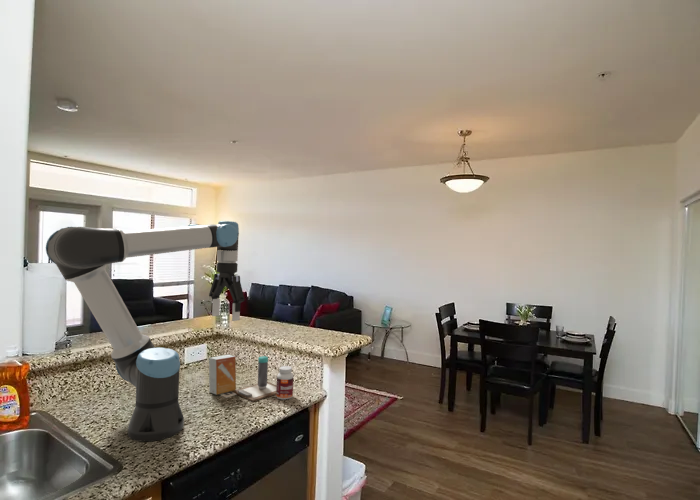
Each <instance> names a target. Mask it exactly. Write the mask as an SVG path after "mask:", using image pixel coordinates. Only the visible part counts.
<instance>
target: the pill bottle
mask: <svg viewBox="0 0 700 500" xmlns="http://www.w3.org/2000/svg"><path fill="white" fill-rule="evenodd" d="M278 370H279V371H278V374H277V375H276V385H277V388H276V394H275V397H276V398H277V399H278V400H282V401H283V400H284V401H286V399H287V400H290V399H292V398H293V395H294V374H293V372H292V371H293V368H292V366H288V365H282V366H280V367H279V369H278Z"/></svg>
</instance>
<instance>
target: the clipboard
mask: <svg viewBox="0 0 700 500" xmlns="http://www.w3.org/2000/svg"><path fill="white" fill-rule="evenodd" d="M258 387H259V386H258V383H256V384H255V383H254V384H252V385H247V386H245V387H242V388H238V389H236V390H235V391H232V392H234V393H236V394H237V395H236V396H239V397H240V398H243V399H245V400H248V401H250V402H252V403H254V402H257V401H261V400H262V399H266V398H269V397H272V396H276V388H277V384H274V383H271V382H269V381H267V386H266V389H259V388H258Z"/></svg>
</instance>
